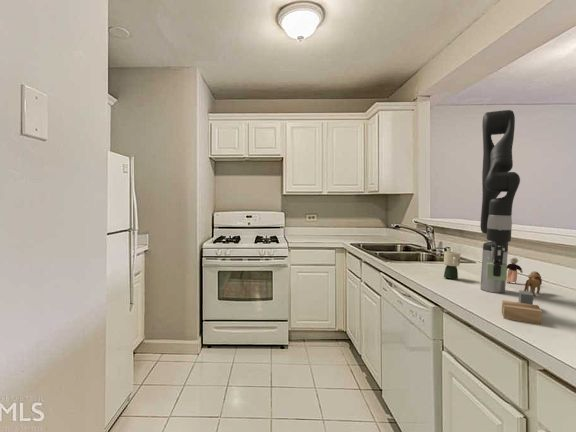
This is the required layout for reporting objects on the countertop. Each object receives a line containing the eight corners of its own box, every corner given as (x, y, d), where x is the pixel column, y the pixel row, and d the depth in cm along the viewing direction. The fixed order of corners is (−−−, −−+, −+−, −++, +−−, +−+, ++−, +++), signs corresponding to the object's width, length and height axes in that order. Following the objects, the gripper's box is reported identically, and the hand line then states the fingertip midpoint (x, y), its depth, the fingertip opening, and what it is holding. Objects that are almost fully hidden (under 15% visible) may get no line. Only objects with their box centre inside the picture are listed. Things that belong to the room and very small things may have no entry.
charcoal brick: (518, 305, 129) (519, 290, 129) (529, 306, 128) (530, 291, 127) (520, 309, 124) (521, 293, 124) (532, 310, 122) (533, 295, 122)
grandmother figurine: (504, 283, 166) (506, 256, 165) (502, 281, 169) (503, 255, 169) (523, 284, 164) (525, 258, 163) (519, 283, 168) (521, 256, 167)
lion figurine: (526, 290, 154) (528, 269, 153) (541, 292, 150) (543, 271, 150) (521, 296, 143) (523, 274, 142) (537, 299, 139) (539, 276, 139)
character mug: (461, 281, 165) (463, 254, 165) (445, 280, 167) (447, 253, 166) (455, 276, 176) (457, 251, 176) (440, 275, 178) (441, 250, 177)
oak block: (501, 311, 120) (502, 300, 120) (536, 317, 115) (537, 305, 115) (503, 318, 113) (504, 306, 112) (541, 324, 108) (542, 311, 108)
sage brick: (487, 279, 126) (487, 263, 126) (486, 277, 129) (487, 262, 129) (506, 280, 124) (507, 265, 123) (505, 278, 127) (506, 263, 126)
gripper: (486, 225, 133) (483, 270, 134) (488, 228, 121) (485, 277, 122) (509, 227, 130) (506, 272, 131) (513, 230, 118) (510, 280, 119)
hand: (496, 274), depth 126 cm, fingers closed on sage brick, 3 cm apart
